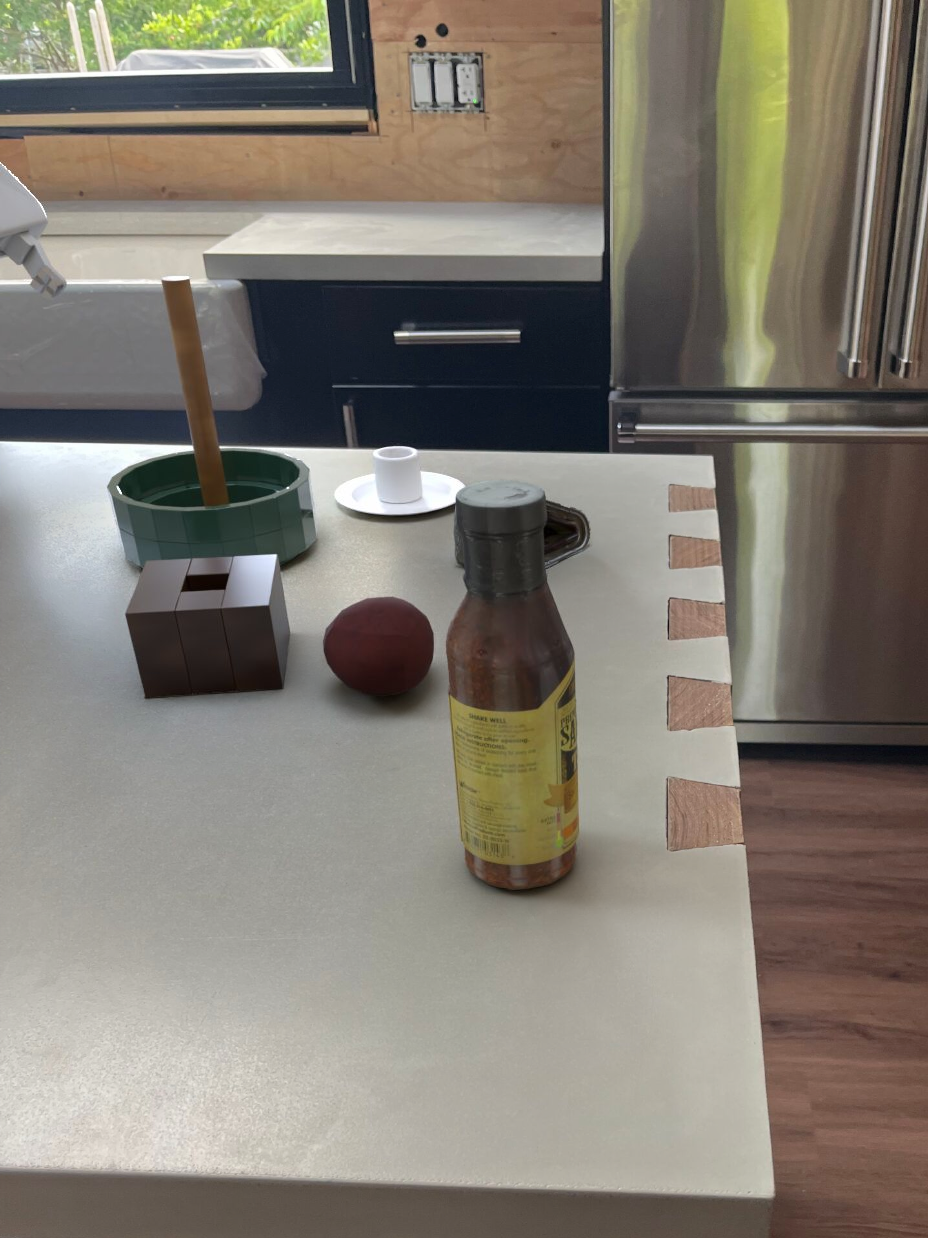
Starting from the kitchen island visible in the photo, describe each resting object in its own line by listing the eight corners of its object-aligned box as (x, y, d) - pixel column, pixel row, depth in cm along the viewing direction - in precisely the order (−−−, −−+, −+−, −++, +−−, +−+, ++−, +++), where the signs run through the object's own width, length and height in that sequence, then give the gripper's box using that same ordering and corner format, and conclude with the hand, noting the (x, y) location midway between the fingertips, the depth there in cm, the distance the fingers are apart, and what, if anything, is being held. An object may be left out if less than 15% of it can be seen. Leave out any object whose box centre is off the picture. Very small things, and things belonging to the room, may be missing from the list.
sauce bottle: (592, 885, 61) (592, 512, 50) (474, 905, 60) (446, 526, 49) (562, 817, 66) (555, 465, 55) (451, 834, 65) (422, 476, 54)
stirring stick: (209, 542, 98) (158, 280, 87) (212, 533, 99) (163, 275, 88) (233, 541, 98) (187, 280, 87) (236, 532, 100) (191, 275, 88)
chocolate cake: (535, 528, 105) (444, 451, 96) (596, 522, 101) (507, 441, 91) (504, 625, 103) (408, 556, 94) (566, 624, 99) (471, 551, 89)
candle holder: (493, 498, 110) (491, 451, 108) (394, 532, 102) (389, 483, 100) (408, 470, 116) (404, 425, 114) (308, 500, 109) (302, 453, 106)
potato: (301, 703, 77) (288, 618, 74) (368, 651, 83) (359, 571, 80) (400, 725, 75) (391, 638, 71) (461, 670, 81) (455, 588, 78)
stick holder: (145, 698, 77) (124, 613, 74) (164, 640, 84) (146, 560, 81) (283, 689, 79) (269, 605, 75) (290, 632, 86) (277, 553, 82)
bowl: (109, 590, 92) (90, 514, 88) (140, 519, 104) (125, 451, 101) (315, 579, 94) (304, 505, 91) (321, 511, 107) (312, 444, 103)
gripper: (-226, 128, 75) (-38, 301, 80) (-35, 108, 92) (112, 251, 96) (-261, 204, 78) (-78, 366, 83) (-70, 171, 95) (74, 307, 99)
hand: (25, 304), depth 90 cm, fingers open, 8 cm apart
